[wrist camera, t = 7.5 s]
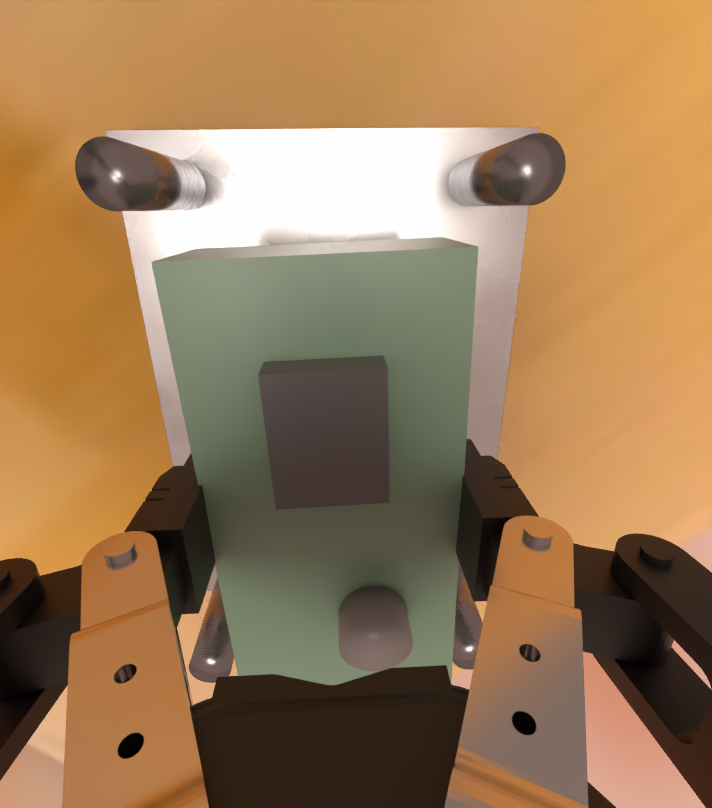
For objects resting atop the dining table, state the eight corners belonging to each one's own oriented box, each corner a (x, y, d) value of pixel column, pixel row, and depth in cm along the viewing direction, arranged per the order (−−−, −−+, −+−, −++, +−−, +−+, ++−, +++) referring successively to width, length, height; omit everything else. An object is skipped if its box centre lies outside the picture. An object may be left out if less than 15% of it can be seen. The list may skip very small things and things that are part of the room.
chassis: (127, 138, 15) (-12, 90, 9) (520, 134, 15) (639, 87, 9) (205, 567, 22) (158, 701, 16) (473, 556, 22) (523, 681, 16)
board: (196, 248, 11) (128, 268, 7) (442, 236, 11) (496, 251, 8) (258, 613, 16) (236, 735, 12) (430, 601, 16) (459, 718, 12)
